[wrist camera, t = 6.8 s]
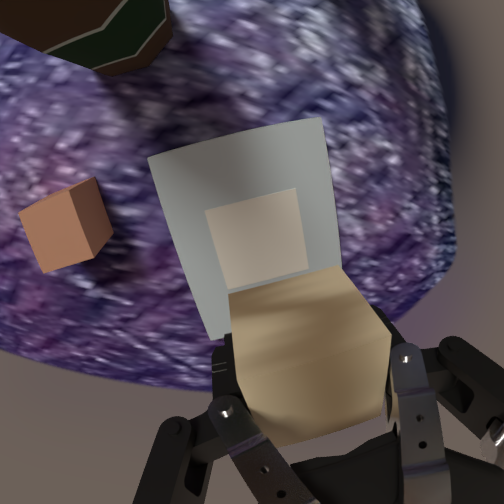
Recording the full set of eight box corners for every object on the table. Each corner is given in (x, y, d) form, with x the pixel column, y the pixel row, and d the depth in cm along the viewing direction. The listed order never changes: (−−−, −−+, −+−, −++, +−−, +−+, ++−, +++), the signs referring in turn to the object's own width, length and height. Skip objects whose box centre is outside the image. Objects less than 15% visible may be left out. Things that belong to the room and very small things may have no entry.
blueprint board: (210, 332, 28) (210, 341, 27) (150, 156, 21) (146, 158, 20) (340, 298, 29) (344, 305, 27) (315, 117, 21) (321, 117, 20)
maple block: (253, 370, 15) (267, 449, 11) (228, 294, 13) (236, 380, 9) (343, 344, 15) (380, 415, 11) (338, 264, 13) (391, 334, 9)
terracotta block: (68, 247, 23) (43, 273, 19) (48, 195, 21) (18, 212, 17) (114, 232, 23) (94, 257, 19) (95, 176, 21) (68, 190, 17)
